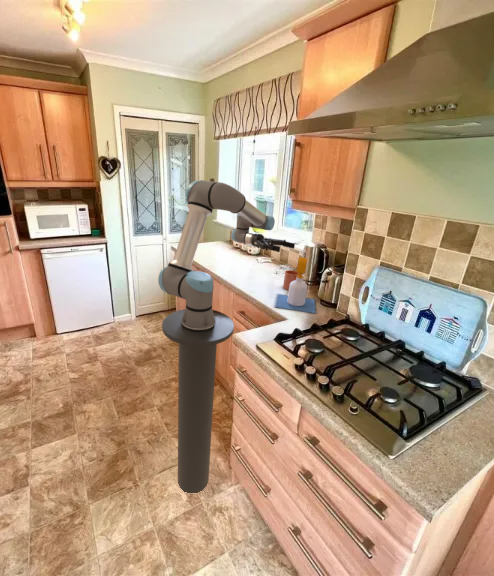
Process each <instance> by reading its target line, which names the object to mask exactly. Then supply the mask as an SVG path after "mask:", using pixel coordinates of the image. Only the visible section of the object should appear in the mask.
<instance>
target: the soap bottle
mask: <svg viewBox="0 0 494 576" xmlns="http://www.w3.org/2000/svg"><path fill="white" fill-rule="evenodd" d="M307 262H308V258H307V257H303V256H299V257H298V261H297V268H296V271H297V272H298V274H299V275H298V276H297V277H296V280H294V281H292V282H291V283H290V286H289V291H288V293H287V295H288V299H287V302H288V303H289V304H291V305H294V306H302V305H304V304H305V298H307V292H308V285H307V283H306V282H305V281H304V276H303V275H304V274H306V269H307Z"/></svg>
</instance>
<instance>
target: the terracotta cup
mask: <svg viewBox="0 0 494 576" xmlns="http://www.w3.org/2000/svg"><path fill="white" fill-rule="evenodd" d="M298 275H299V274H298V272H297V270H291V269H288V270H285V271H284V277H283V285H282V288H283V290H285V291H288V292H289V286H290V283H291V282H292V281H294V280H296V277H297V276H298Z"/></svg>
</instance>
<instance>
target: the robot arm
mask: <svg viewBox="0 0 494 576" xmlns="http://www.w3.org/2000/svg"><path fill="white" fill-rule="evenodd" d="M185 201H186V204H187V205H186V206H187V209H188V213H187V216H186V219H185V222H184V225H183V228H182V232H181V235H180V238H179V241H178V243H177V247H176V250H175V253H174V257H173V259H172V260H171V261H169V262H168V264H167V266H165V267H163V268H162V269H161V270H160V272H159V273H158V279H157V280H158V286H159V288H160V290H162V291H163V292H165V293H167V294H168V295H172V296H175V297H178V298H180V299H183V300H185V308H184V309H185V311H184V314H183V317H182V323H181V324H182V326H183V327H184V328H185V329H187V330H190V331H195V332H203V331H208V330H210V329H212V328H213V327H214V326H215V317H214V316H216V317H217V314H214V313H213V310H214V309H213V299H214V279H213V277H212V276H211V275H210V274H208V273H206V272H204V271H199V270H194V269H193V267H192V265H193V262H194V259H195V256H196V253H197V250H198V247H199V243H200V240H201V238H202V233H203V231H204V227H205V225H206V221H207V219H208V217H210V216H211V215H212V214H213V211H214V210H217V211H218V210H220V211H226V212H230V213H231V214H236V227H235V228H234V229H233V230H232V231H231V232H232V233H231V235H230V236H231V239H232V241H234V242H236V243H239V244H244V245H247V246H249V247H254V248H259V249H261V250H265V251H266V252H267V251H268V250H270V251H273V252H277V253H280V252H281V246H283V247H284V248H285V247H286V248H289V249H293V250H294V249H295V246H296V244H295V243H294V242H290V241H287V240H286V239H278V238H272V237H265V236H264V234H261V233H259V232H258V233H257V232H253V231H250V228H253V229H260V230H262V231H263V230H264V231H271V230H273V229H274V226H275V223H276V222H275V221H276V220H275V217H274V216H270V215H266V214H265V213H263V212H262V211H261V210H259V208H257V207H256V206H255V205H254V204H252V203H251V202H249V201H248V200H247V199H246V196H245V195H244V194H243V193H242V192H240V191H239V190H238V189H236V188H235V187H233V186H231V185H229V184H227V183H225V182H221V181H219V182H218V181H209V180H203V179H201V180H194V181H192V182H191V183H189V185H188V186H187V188H186V191H185Z"/></svg>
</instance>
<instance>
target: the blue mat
mask: <svg viewBox="0 0 494 576" xmlns="http://www.w3.org/2000/svg"><path fill="white" fill-rule="evenodd" d="M287 299H288V294H280V293H278V294H277V297H276V301H275V306H274V308H278V309H282V310H290V311H296V312H301V313H308V314H315V315H316V301H315V300H316V299H314V298H307V297H306V298H305V304H304V305H302V306H294V305H291V304H289V303H288V302H287Z"/></svg>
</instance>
